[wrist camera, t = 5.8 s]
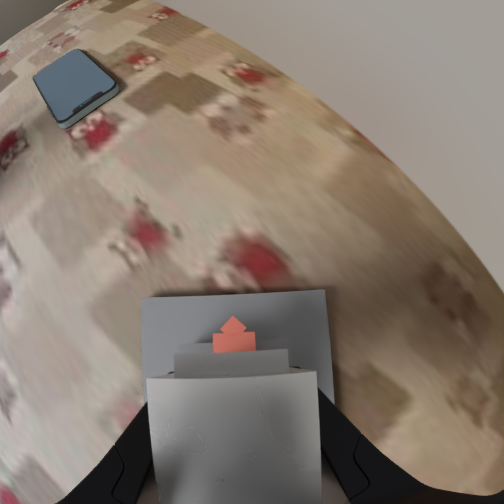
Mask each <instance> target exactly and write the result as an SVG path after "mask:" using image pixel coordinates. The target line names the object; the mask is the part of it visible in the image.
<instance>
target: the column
mask: <svg viewBox="0 0 504 504" xmlns="http://www.w3.org/2000/svg"><path fill="white" fill-rule="evenodd" d="M173 360H174V373H171V374H166V375H161V376H156V377H150V378H146V384H147V400H148V414H149V425H150V436H151V445H152V454H153V462H154V470H155V477H156V484H157V490H158V497H159V503H160V504H322V489H321V449H320V425H319V406H318V389H317V374H316V371H312V370H305V369H298V368H292V367H289V362H288V349H277V350H263V351H246V352H225V353H182V354H173Z"/></svg>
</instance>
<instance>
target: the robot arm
mask: <svg viewBox="0 0 504 504" xmlns="http://www.w3.org/2000/svg"><path fill="white" fill-rule="evenodd" d="M289 367H292V368H298V369H301V368H300V367H299V366H289ZM171 373H174V371H171V372H169V373H168V374H171ZM317 389H318V406H319V425H320V449H321V489H322V504H504V490H502V491H501V492H499V493H497V494H494V495H488V496H479V495H471V494H464V493H458V492H452V491H446V490H441V489H436V488H432V487H429V486H427V485H425V484H423V483H421V482H419V481H418V480H417V479H415V478H414V477H412V476H411V475H410V474H408V473H407V472H406V471H404V470H403V469H402V468H400V467H399V466H398V465H396V464H395V463H394V462H393V461H391V460H390V459H389V458H388V457H386V456H385V455H384V454H383V453H382V452H380V451H379V450H378V449H377V448H376V447H375V446H374V445H373V444H372V443H371V442H370V441H369V440H368V439H367V438H366V437H365V436H364V435H363V434H361V432H360V431H359V430H358V429H357V428H356V427H355V426H354V425H353V424H352V423H351V422H350V420H349V419H348V418H347V417H346V416H345V415H344V414H343V413H342V412H341V411H340V410H339V409H338V408H337V407H336V406H335V405H334V404H333V402H332V401H331V400H330V399H329V398H328V397H327V396H326V395H325V394H324V393H323V392H322V391H321V390H320V388H319V387H318V386H317ZM55 504H160V503H159V497H158V490H157V484H156V477H155V470H154V462H153V454H152V445H151V436H150V425H149V414H148V400H147V402H146V403H145V404H144V406H143V407H142V408H141V410H140V411H139V412H138V414H137V415H136V416H135V418H134V419H133V420H132V421H131V423H130V424H129V425H128V427H127V428H126V429H125V431H124V432H123V433H122V435H121V436H120V437H119V439H118V440H117V441H116V442H115V445H113V446H112V448H111V449H110V450H109V451H108V453H107V454H106V455H105V456H104V458H103V459H102V460H101V461H100V463H99V464H98V465H97V466H96V467H95V468H94V469H93V470H92V471H91V472H90V473H89V474H88V475H87V476H86V477H85V478H84V479H83V480H82V481H81V482H80V483H79V484H78V485H77V486H76V487H75V488H74V489H73V490H72V491H71V492H70V493H69V494H68V495H67V496H66V497H64V498H63V499H62V500H60V501H59V502H57V503H55Z"/></svg>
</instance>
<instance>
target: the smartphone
mask: <svg viewBox="0 0 504 504" xmlns="http://www.w3.org/2000/svg"><path fill="white" fill-rule="evenodd" d="M33 81H34V83H35V85H36V86H37V88H38V90H39V92H40V94H41V95H42V97H43V99H44V101H45V103H46V104H47V108H48V110H49V111H50V113H51V115H52V117H54V118H55V120H56V122H57V123H58V125H59V126H60V128H62V129H64V128H68V127H70V126H72V125H73V124H74V123H76V122H77V121H78V120H80V119H81V118H83V117H84V116H85V115H87V114H88V113H90V112H91V111H93V110H94V109H95V108H97V107H98V106H100V105H101V104H103V103H104V102H106V101H107V100H109V99H111V98H112V97H114V96H115V95H116V94H117V93H118V91H119V87H118V84H117V82H116V81H115V80H114V79H113V78H112V77H111V76H110V75H108V74H107V73H106V72H105V71H104V70H103V69H102V68H101V67H100V66H98V65H97V64H96V63H95V62H94V61H93V60H92V59H91V58H89V57H88V56H87V55H86V54H85V53H84V52H83V51H81V50H80V49H74V50H72V51H70V52H68V53H67V54H65V55H64V56H62V57H61V58H59V59H58V60H56V61H54V62H53V63H52V64H50V65H49V66H47V67H46V68H44V69H43V70H41V71H40V72H39V73H37V74H36V76H35V77H34V79H33Z"/></svg>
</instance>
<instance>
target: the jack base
mask: <svg viewBox="0 0 504 504" xmlns="http://www.w3.org/2000/svg"><path fill="white" fill-rule="evenodd" d="M277 349H288V362H289V366H299V367H300V368H301V369H305V370H312V371H316V374H317V386H318V387H319V388H320V390H321V391H322V392H323V393H324V394H325V395H326V396H327V397H328V398H329V399H330V400H331V401H332V402H333V404H334V387H333V372H332V359H331V347H330V336H329V325H328V315H327V305H326V296H325V289H320V290H306V291H290V292H274V293H256V294H236V295H212V296H183V297H141V353H142V379H143V396H144V404H145V403H146V402H147V384H146V378H150V377H156V376H161V375H166V374H168V373H169V372H171V371H174V360H173V354H182V353H225V352H246V351H263V350H277ZM334 405H335V404H334Z"/></svg>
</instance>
